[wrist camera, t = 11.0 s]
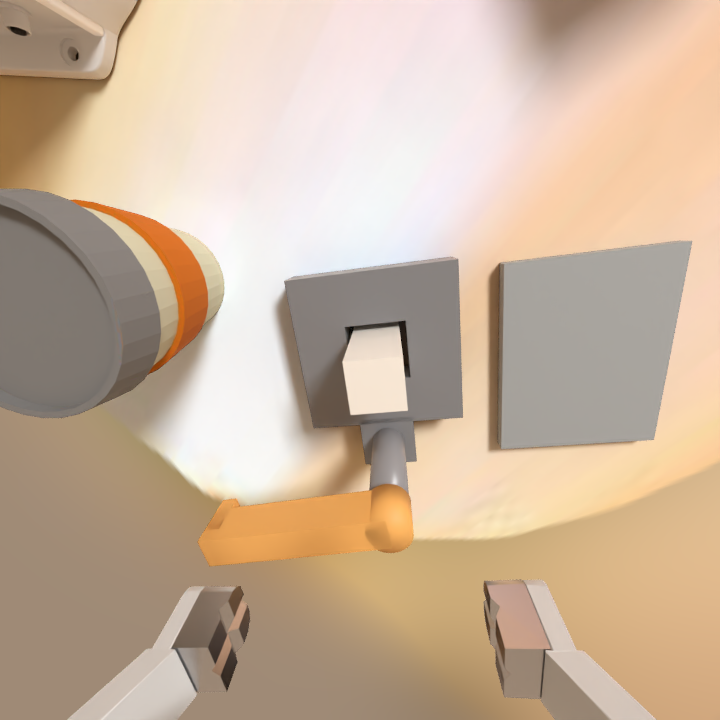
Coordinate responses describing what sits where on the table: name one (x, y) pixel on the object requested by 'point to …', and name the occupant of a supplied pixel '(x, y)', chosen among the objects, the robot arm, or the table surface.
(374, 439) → the socket
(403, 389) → the plug
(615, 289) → the pad
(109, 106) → the table surface
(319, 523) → the rounded-end orange bar
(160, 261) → the reusable coffee cup
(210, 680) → the robot arm
